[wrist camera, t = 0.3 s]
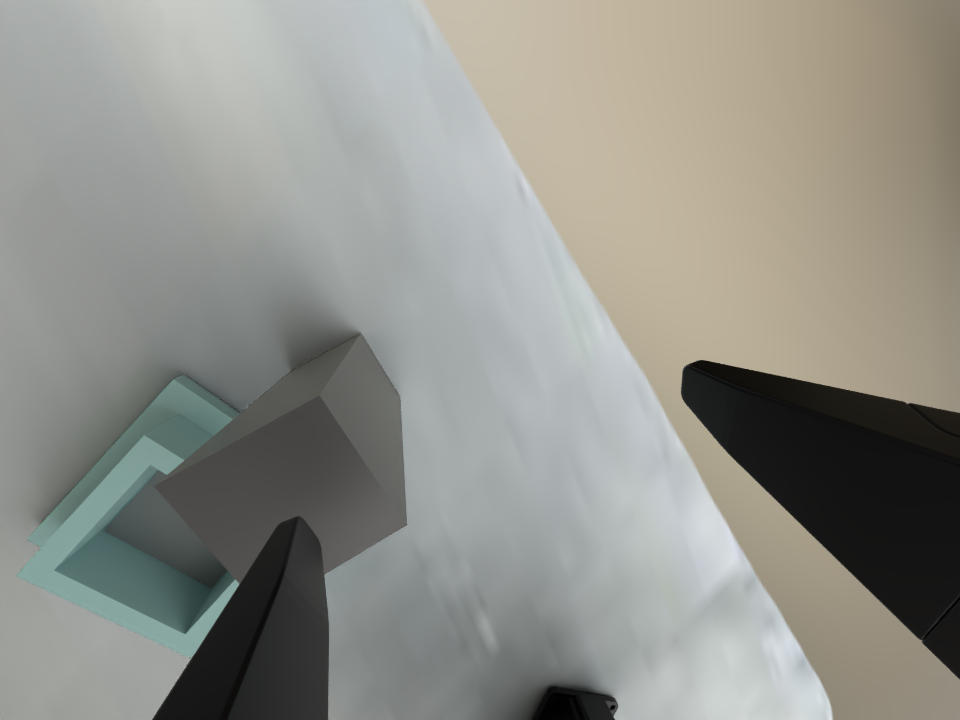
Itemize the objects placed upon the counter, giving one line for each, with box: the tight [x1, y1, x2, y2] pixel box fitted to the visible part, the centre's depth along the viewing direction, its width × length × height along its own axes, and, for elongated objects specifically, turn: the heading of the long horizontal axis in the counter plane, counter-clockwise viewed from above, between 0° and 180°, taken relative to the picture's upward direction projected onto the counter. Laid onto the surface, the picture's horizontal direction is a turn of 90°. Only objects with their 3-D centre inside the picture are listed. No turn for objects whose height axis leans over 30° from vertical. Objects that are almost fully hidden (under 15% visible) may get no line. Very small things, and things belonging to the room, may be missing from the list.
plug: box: [154, 334, 407, 584], centre depth 16 cm, size 4×4×13 cm
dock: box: [16, 375, 240, 658], centre depth 20 cm, size 11×11×4 cm
